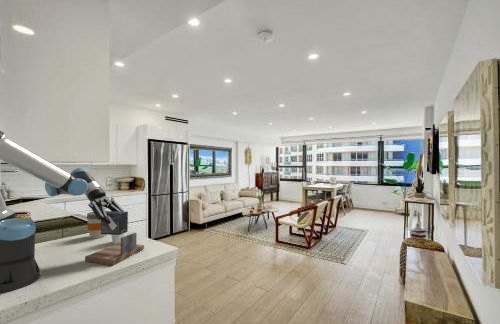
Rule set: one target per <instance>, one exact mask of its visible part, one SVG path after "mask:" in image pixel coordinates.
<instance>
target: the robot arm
mask: <svg viewBox="0 0 500 324" xmlns="http://www.w3.org/2000/svg"><path fill="white" fill-rule="evenodd" d="M0 160H1V161H3V162H4V163H6V164H8V165H11V166H12V167H14V168H17V169H19V170H21V171H23V172H24V173H26V174H28V175H31V176H33V177H34V178H37V179H39V180H41V181H42V182H45V183H44V190H45V191H46V193H47V195H48V196H50V197H52V198H53V197H56V196H60V195H70V196H74V197H75V196H76V197H77V196H82V195H85V197H87V199H88V200H89V204H87V205H88V207H89V208H90V209H91V211H92V212H94V214H95V215H96V217H97V218H98V220H100V219H102V220H101V221H105V222H106V224H108V225H109V226H110V228H111V229H112V230H114V229H115V228H116V227H117V225H116V224H115V223H114V221H113V220H112V219H111V218H110V216H108V217H107V214H106V211H107V210H106V209H108V210H109V211H125V210H124V209H123V208H122V207H121V206H120V204H118V202H117V201H116V200H115V199H114V197H111V198H109V197H107V193H106V192H105V191H104V190H103V188H102V187H101V185H100V184H99V182H97V181H96V179H95V178H94V177H93V176H92V174H91V172H90V171H88V170H87V168H85V167H77V168H75V169H73V170H72V171H71V172H70V173H69V172H67V171H65V170H63V169H62V168H60V167H59V166H56V165H55V164H53V163H51V162H50V161H47V160H46V159H44V158H42V157H41V156H39V155H37V154H36V153H34V152H32V151H30V150H29V149H27V148H25V147H23V146H22V145H20V144H18V143H16V142H14V141H13V140H11V139H9V138H7V136H6V133H5V132H3V131H2V130H0ZM128 224H129V221H128ZM36 229H37V228H36V223H35V221H34V220H33V219H31V218H22V217H17V214H16V211H14V210H13V209H12V210H11V209H9V208H8V207H7V204H6V202H5V199H4V196H3V195H2V192H1V191H0V293H4V292H3V291H6V292H10V291H14V290H17V289H21V288H23V287H26V286H29V285H31V284H33V283H35V282H37V281H39V279H40V278H41V269H40V267H39V265H38V263H37V260H36V259H35V257H36V255H35V253H36V252H35V251H36Z"/></svg>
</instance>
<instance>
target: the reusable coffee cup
mask: <svg viewBox="0 0 500 324" xmlns="http://www.w3.org/2000/svg"><path fill="white" fill-rule="evenodd" d="M105 211H106V212H109V211H110V210H105ZM86 219H87V223H86V225H87V230H88V233H89V238H90V239H101V238H104V237H106V236H107V235H106V234H101V219H100V220H98V218H97V217H96V215H95V214H94V212H93V211H90V212H87V214H86Z"/></svg>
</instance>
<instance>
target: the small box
mask: <svg viewBox="0 0 500 324" xmlns="http://www.w3.org/2000/svg"><path fill="white" fill-rule="evenodd" d="M108 211H109V212H106V214H107V217H108V216H110V218H111V219H112V220H113V221H114V223H115V224H116V225H117V227H116V228H115V229H114V230H112V229H111V228H110V226H109V225H108V224H106V222H105V221H101V234H106V235H109V236H112V235H121V234H123V233H126V234H127V232H129V231H128V230H129V229H128V228H129V227H128V226H129V225H128V224H129V223H128V222H129V212H128V211H125V210H124V211H111V210H108ZM101 220H102V219H101Z"/></svg>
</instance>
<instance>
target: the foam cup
mask: <svg viewBox="0 0 500 324" xmlns="http://www.w3.org/2000/svg"><path fill="white" fill-rule="evenodd" d="M124 236H127V232H126V233H123V234H121V235H111V242H112V243H113V244H114V245H115V244H117V243H121V238H122V237H124Z"/></svg>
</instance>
